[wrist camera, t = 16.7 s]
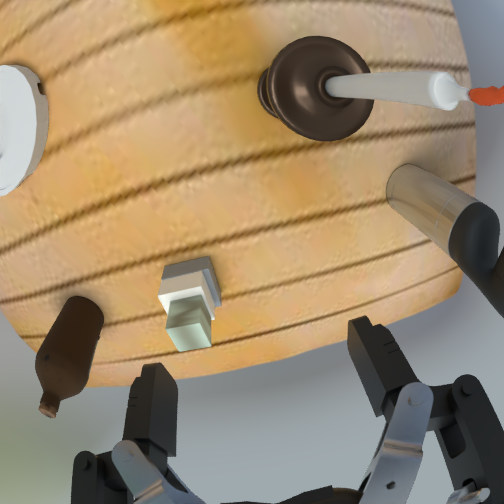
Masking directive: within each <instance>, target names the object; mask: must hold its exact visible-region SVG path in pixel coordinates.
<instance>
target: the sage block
mask: <svg viewBox="0 0 504 504" xmlns="http://www.w3.org/2000/svg"><path fill="white" fill-rule="evenodd" d="M166 331H167V333H168V334H169V336H170V338H171V339H172V341H173V343H174V344H175V346H176V347H177V349H178V351H179V352H180V351H186V350H192V349H198V348H204V347H210V346H211V316H210V314H209V311H208V309H207V307H206V304H205V302H204V300H203V297H202V295H196V296H191V297H187V298H182V299H178V300H173V301H170V306H169V312H168V317H167V323H166Z"/></svg>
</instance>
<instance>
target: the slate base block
mask: <svg viewBox="0 0 504 504" xmlns="http://www.w3.org/2000/svg"><path fill="white" fill-rule="evenodd" d="M198 271H202V272H203V274H204V277H205V280H206V282H207V285H208V287H209V290H210V292H211V295H212V297H213V300H214V302H215V307H218V306H221V291H220V288H219V285H218V282H217V279H216V276H215V273H214V270H213V267H212V264H211V261H210V258H209V256H207V257H203V258H198V259H194V260H190V261H186V262H181V263H177V264H173V265H168V266H165V267H164V271H163V275H162V280H165V279H169V278H173V277H177V276H181V275H186V274H190V273H194V272H198Z"/></svg>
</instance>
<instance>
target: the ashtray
mask: <svg viewBox="0 0 504 504" xmlns="http://www.w3.org/2000/svg"><path fill="white" fill-rule="evenodd" d="M37 83H40V80H39V78H38V76H37V75H36V74H35V73H34V72H32V71H31V70H30V69H29V68H27V67H23V66H19V65H2V66H0V196H3V195H6V194H8V193H9V192H11V191H12V190H14V189H16V188H17V187H18V186H19V185H20V183H21V182H22V181H23V180H24V179H25V178H26V177H27V176H29V175H31V174H32V173H33V172H34V171H35V170H36V168H37V166H38V164H39V162H40V159H41V157H42V155H43V152H44V148H45V144H46V141H47V134H48V125H49V113H48V101H47V98H46V95H41V94H40V93H39V90H38V86H37Z"/></svg>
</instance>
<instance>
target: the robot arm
mask: <svg viewBox="0 0 504 504" xmlns="http://www.w3.org/2000/svg"><path fill="white" fill-rule="evenodd" d="M386 195H387V200H388V203H389V205H390V206H391V207H392V208H393V209H394V210H395V211H397V212H398V213H399V214H400V215H402V216H403V217H404V218H405V219H406V220H408V221H409V222H410V223H411V224H413V225H414V226H415V227H416V228H418V229H419V230H420V231H421V232H422V233H424V234H425V235H426V236H427V237H428V238H429V239H431V240H432V241H433V242H434V243H435V244H436V245H437V246H439V247H440V248H441V249H442V250H443V251H444V252H445V253H446V254H448V255H449V256H450V257H451V258H452V259H453V260H454V261H455V262H456V263H457V264H458V266H459V267H460V268H461V270H462V271H463V272H464V273H465V274H466V275H467V276H468V277H469V278H470V279H471V280H472V281H473V282H474V284H475V285H476V286H477V287H478V288H479V289H480V291H481V292H482V293H483V294H484V296H485V297H486V298H487V299H488V301H489V302H490V303H491V304H492V305H493V307H494V308H495V309H496V310H497V311H498V313H499V314H500V315H501V316H502V317H503V318H504V247H503V249H502V251H501V254H500V256H499V258H498V243H499V235H500V224H499V219H498V216H497V214H496V213H495V212H494V210H493V209H491V208H490V207H488V206H487V205H485V204H483V203H482V202H480V201H479V200H477V199H476V198H474V197H472V196H471V195H469V194H467V193H465V192H464V191H462V190H460V189H458V188H457V187H456V186H455V185H453V184H451V183H449V182H447V181H445V180H444V179H442V178H440V177H438V176H436V175H434V174H432V173H430V172H428V171H426V170H423V169H421V168H418V167H416V166H414V165H410V164H408V165H403V166H401V167H399V168H398V169H396V170H395V171H394V172H393V174H392V175H391V177H390V179H389V181H388V184H387V190H386ZM347 345H348V350H349V354H350V356H351V359H352V361H353V363H354V366H355V368H356V370H357V372H358V375H359V377H360V379H361V382H362V384H363V386H364V389H365V391H366V394H367V396H368V398H369V401H370V403H371V405H372V408H373V411H374V413H375V415H376V417H378V416H381V415H384V417H385V420H386V423H385V426H384V429H383V432H382V435H381V438H380V440H379V443H378V446H377V448H376V451H375V453H374V456H373V458H372V460H371V463H370V465H369V466H368V468H367V470H366V473H365V475H364V477H363V479H362V481H361V483H360V485H359V488H358V490H354V489H348V488H332V485H331V486H327V487H323V488H319V489H315V490H311V491H307V492H303V493H301V494H299V495H297V496H294V497H292V498H290V499H287V500H285V501H282V502H280V503H276V504H406V501H407V499H408V497H409V494H410V492H411V489H412V487H413V484H414V481H415V479H416V476H417V473H418V470H419V467H420V464H421V461H422V457H423V451H422V445H423V441H424V437H425V434H426V432H427V431H432V430H434V432H435V434H436V437H437V439H438V442H439V445H440V447H441V451H442V453H443V456H444V459H445V462H446V465H447V468H448V471H449V474H450V477H451V480H452V484H453V487H454V492H453V493H452V494H451V495H450V497H449V498H448V501H447V503H446V504H504V431H503V428H502V426H501V424H500V421H499V419H498V417H497V415H496V413H495V411H494V409H493V406H492V405H491V402H490V400H489V398H488V397H487V394H486V393H485V391H484V389H483V387H482V385H481V383H480V381H479V380H478V379H477V378H476V377H475V376H472V375H469V374H466V375H462V376H460V377H458V378H457V379H456V380H455V382H454V383H453V384H447V385H441V386H428V385H426V384H423V383H422V382H420V381H419V380H418V379H417V377H416V375H415V374H414V372H413V370H412V368H411V367H410V365H409V363H408V361H407V359H406V358H405V356H404V354H403V352H402V351H401V350H400V347H399V346H398V344H397V342H396V341H395V339H394V337H393V336H392V334H391V332H390V331H389V330H388V329H387V328H385V327H384V326H383V325H381V324H377V325H375V326H373V325H372V324H371V322H370V320H369V318H368V317H367V316H362V317H359V318H356V319H352V320H349V321H348V339H347ZM177 403H178V388H177V384H176V382H175V380H174V379H173V377H172V376H171V375H170V374H169V372H168V371H167V370H166V368H165V367H164V366H163V364H162V363H152V364H145V365H143V367H142V372H141V377H136V378H135V380H134V382H133V384H132V385H131V388H130V393H129V400H128V408H127V412H126V419H125V427H124V434H123V438H122V441H120V442H118V443H117V444H116V445H115V446H114V448H113V450H112V451H109V452H105V453H102V454H98V455H95V454H93V453H91V452H89V451H82V452H80V453H78V454H77V456H76V457H75V459H74V465H73V476H72V491H71V504H206V503H205V502H204V501H203V500H202V499H200V498H199V497H198V496H196V495H195V494H194V493H193V492H191V490H190V489H189V488H188V487H187V486H186V485H185V484H184V483H183V481H182V480H181V479H180V478H179V477H178V475H177V474H176V473H175V472H174V470H173V469H172V468H171V467H170V466H169V464H168V463H167V457H176V430H177ZM133 497H135V500H134V498H133ZM221 504H271V503H258V502H248V501H246V502H234V503H221Z"/></svg>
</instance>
